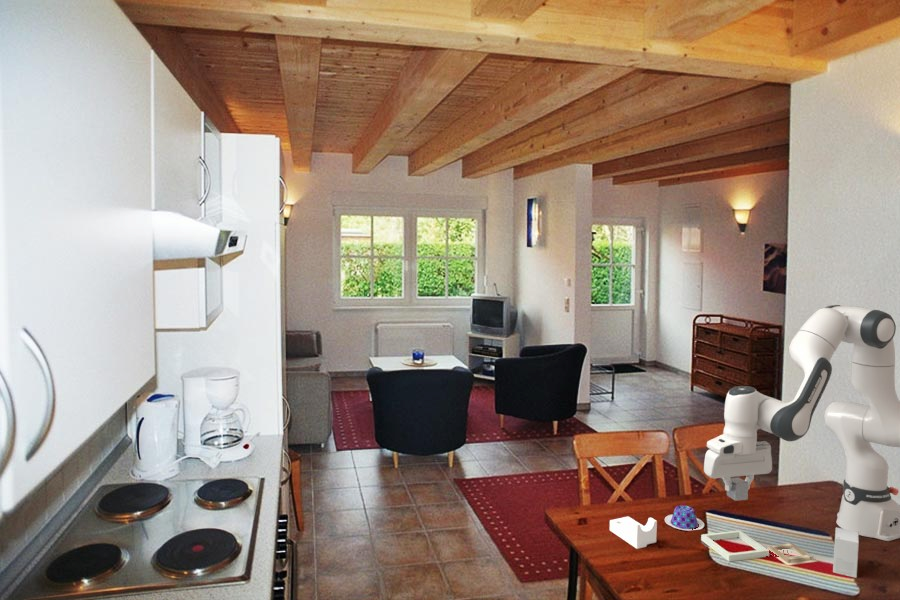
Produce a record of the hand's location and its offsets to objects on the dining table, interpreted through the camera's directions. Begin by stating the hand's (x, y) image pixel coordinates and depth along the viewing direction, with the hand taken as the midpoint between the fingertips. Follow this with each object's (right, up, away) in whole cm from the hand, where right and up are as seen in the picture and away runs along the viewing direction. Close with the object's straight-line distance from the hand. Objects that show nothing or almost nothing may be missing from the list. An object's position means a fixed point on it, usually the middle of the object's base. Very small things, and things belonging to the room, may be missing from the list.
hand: (737, 489), depth 189 cm
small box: (+25, -20, -10) cm, 34 cm away
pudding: (-8, -17, +20) cm, 27 cm away
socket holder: (+14, -19, -2) cm, 24 cm away
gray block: (0, -2, 0) cm, 2 cm away
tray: (0, -18, +2) cm, 18 cm away
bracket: (-27, -18, +10) cm, 34 cm away
